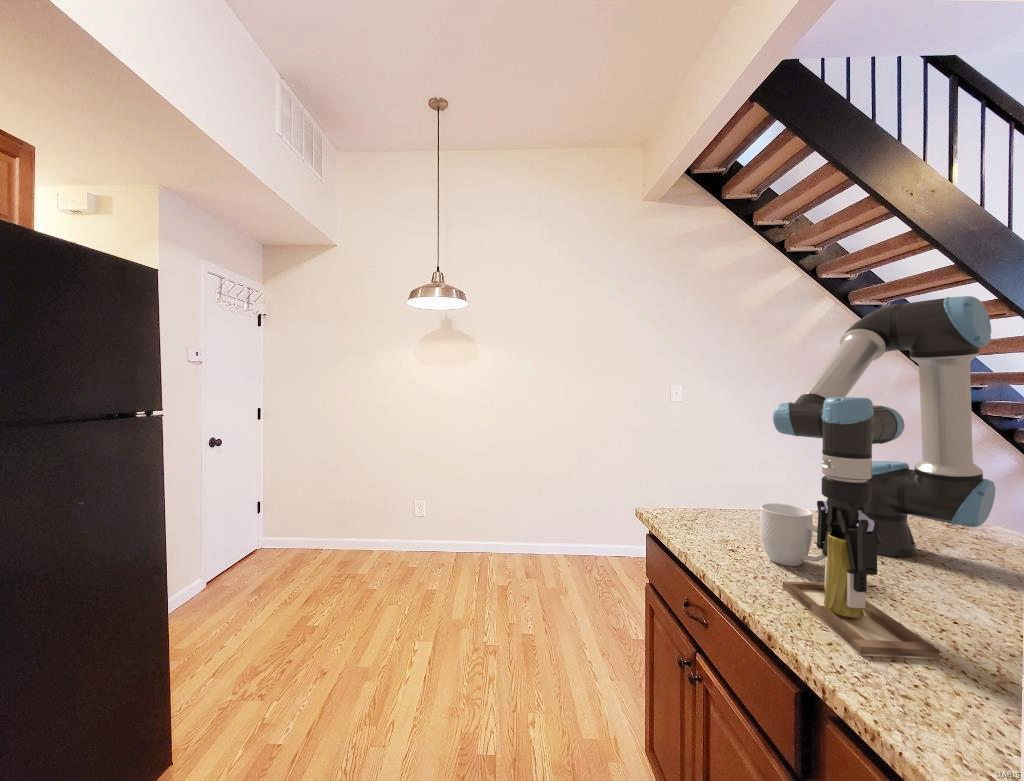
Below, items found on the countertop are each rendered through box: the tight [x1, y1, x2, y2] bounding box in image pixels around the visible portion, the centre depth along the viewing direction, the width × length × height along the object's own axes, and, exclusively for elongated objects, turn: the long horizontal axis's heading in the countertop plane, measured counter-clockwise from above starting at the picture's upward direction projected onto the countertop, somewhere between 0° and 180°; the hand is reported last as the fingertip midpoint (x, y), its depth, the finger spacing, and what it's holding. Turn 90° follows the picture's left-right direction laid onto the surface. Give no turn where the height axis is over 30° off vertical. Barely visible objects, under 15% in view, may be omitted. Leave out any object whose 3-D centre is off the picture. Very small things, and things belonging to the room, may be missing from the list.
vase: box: [824, 532, 864, 618], centre depth 82 cm, size 6×6×14 cm
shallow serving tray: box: [782, 581, 940, 660], centre depth 81 cm, size 12×23×2 cm, turn 176°
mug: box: [759, 502, 825, 567], centre depth 105 cm, size 15×11×13 cm
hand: (843, 597), depth 82 cm, fingers closed on vase, 6 cm apart
